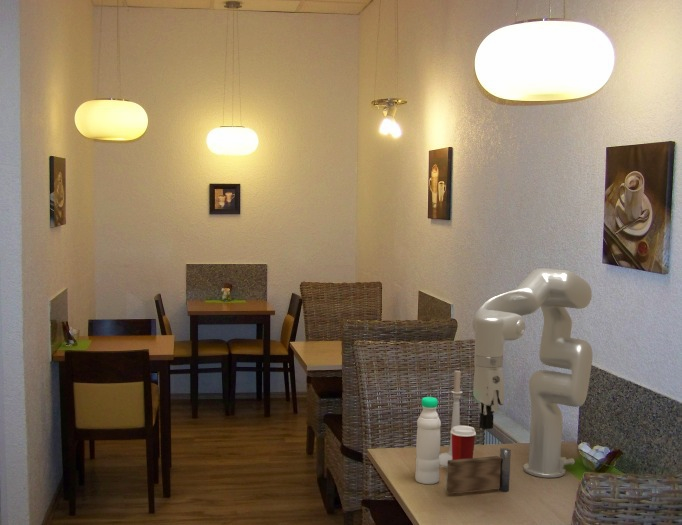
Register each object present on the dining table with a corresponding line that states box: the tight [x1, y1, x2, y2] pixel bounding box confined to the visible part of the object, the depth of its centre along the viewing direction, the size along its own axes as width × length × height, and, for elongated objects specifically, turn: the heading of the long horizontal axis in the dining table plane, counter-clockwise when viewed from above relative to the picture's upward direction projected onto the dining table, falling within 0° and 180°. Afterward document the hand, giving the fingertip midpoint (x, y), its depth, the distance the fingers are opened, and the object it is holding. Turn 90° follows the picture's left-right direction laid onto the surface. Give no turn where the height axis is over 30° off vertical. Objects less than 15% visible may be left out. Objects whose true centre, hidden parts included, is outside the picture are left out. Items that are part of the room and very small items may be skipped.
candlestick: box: [439, 370, 463, 469], centre depth 259 cm, size 13×13×30 cm
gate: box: [446, 455, 501, 494], centre depth 233 cm, size 16×2×9 cm, turn 108°
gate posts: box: [446, 447, 512, 493], centre depth 235 cm, size 18×3×12 cm, turn 99°
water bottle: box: [414, 396, 442, 485], centre depth 242 cm, size 7×7×25 cm
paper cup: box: [449, 425, 477, 460], centre depth 250 cm, size 8×8×14 cm
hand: (486, 427), depth 221 cm, fingers closed
